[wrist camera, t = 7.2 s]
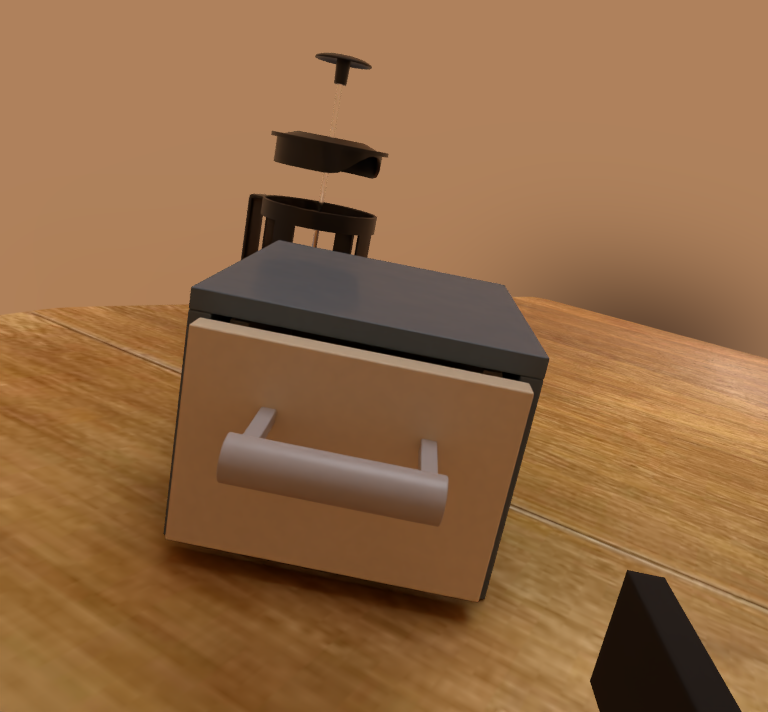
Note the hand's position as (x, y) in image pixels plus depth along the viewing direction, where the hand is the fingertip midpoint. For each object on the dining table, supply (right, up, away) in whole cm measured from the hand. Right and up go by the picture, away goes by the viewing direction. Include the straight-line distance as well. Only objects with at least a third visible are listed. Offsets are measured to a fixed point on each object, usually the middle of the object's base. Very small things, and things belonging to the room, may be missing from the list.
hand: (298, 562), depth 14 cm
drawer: (0, -3, +18) cm, 18 cm away
